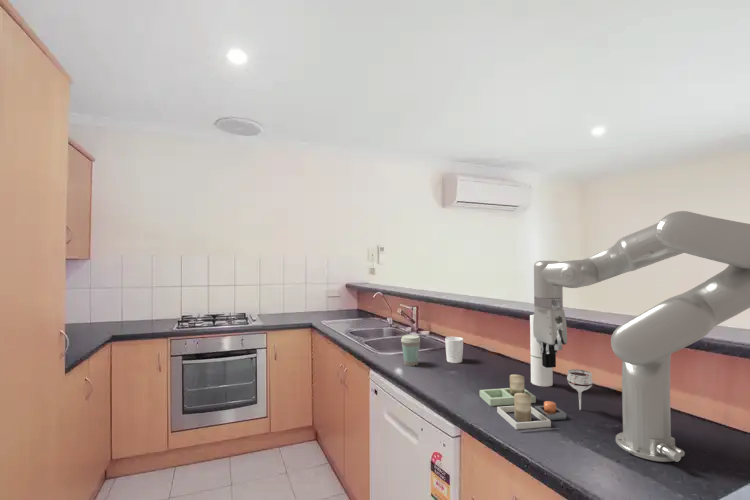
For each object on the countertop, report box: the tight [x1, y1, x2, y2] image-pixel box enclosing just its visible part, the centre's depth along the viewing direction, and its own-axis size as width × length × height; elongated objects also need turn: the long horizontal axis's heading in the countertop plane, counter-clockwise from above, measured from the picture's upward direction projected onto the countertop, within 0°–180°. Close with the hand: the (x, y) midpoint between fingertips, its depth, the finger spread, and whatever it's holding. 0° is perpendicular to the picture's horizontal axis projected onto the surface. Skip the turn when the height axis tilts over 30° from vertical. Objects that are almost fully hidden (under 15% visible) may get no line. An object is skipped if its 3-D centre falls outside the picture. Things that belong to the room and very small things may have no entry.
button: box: [543, 400, 557, 413], centre depth 108 cm, size 3×3×3 cm
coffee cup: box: [400, 334, 421, 367], centre depth 163 cm, size 8×8×12 cm
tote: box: [496, 405, 552, 432], centre depth 106 cm, size 11×10×2 cm
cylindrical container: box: [529, 314, 554, 388], centre depth 135 cm, size 7×7×25 cm
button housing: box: [534, 405, 567, 421], centre depth 108 cm, size 6×6×2 cm
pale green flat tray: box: [479, 387, 537, 407], centre depth 120 cm, size 8×15×3 cm, turn 98°
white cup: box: [444, 336, 464, 364], centre depth 167 cm, size 8×8×10 cm
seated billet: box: [509, 374, 525, 396], centre depth 121 cm, size 4×4×7 cm
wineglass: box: [566, 368, 594, 411], centre depth 112 cm, size 7×7×12 cm
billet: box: [513, 393, 532, 422], centre depth 106 cm, size 4×4×7 cm
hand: (549, 366), depth 109 cm, fingers closed
